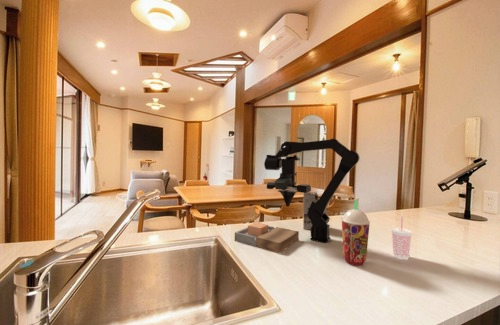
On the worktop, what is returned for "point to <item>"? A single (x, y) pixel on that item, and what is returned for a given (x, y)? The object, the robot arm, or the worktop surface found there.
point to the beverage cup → (401, 242)
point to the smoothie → (355, 236)
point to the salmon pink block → (257, 229)
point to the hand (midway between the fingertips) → (287, 206)
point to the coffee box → (306, 204)
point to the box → (247, 236)
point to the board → (277, 239)
